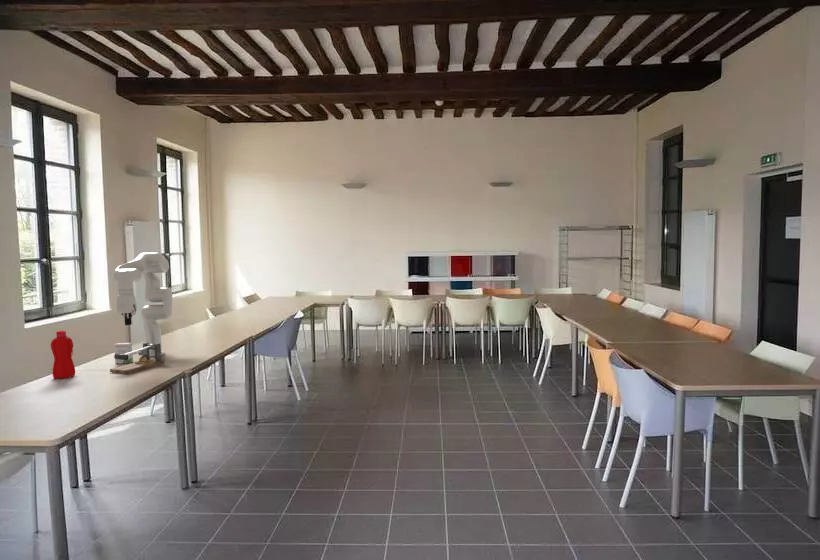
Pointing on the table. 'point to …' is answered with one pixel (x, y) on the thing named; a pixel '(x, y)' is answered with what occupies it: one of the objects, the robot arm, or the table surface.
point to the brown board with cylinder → (141, 365)
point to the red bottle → (62, 356)
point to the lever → (135, 352)
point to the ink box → (123, 352)
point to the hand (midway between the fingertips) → (128, 324)
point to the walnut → (142, 359)
